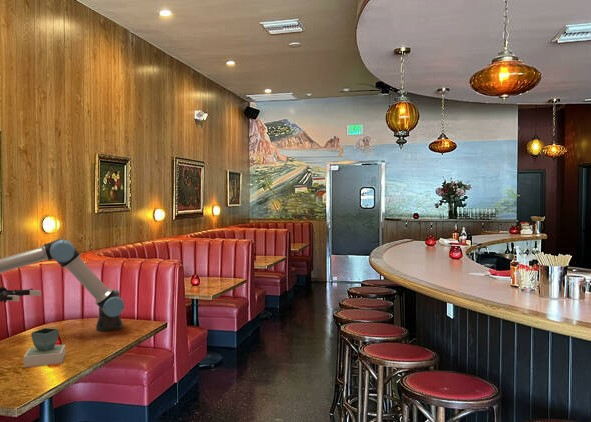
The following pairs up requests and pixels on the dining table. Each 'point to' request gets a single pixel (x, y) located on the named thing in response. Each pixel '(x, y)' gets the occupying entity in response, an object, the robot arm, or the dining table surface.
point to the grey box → (44, 356)
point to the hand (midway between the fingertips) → (29, 295)
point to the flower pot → (45, 338)
